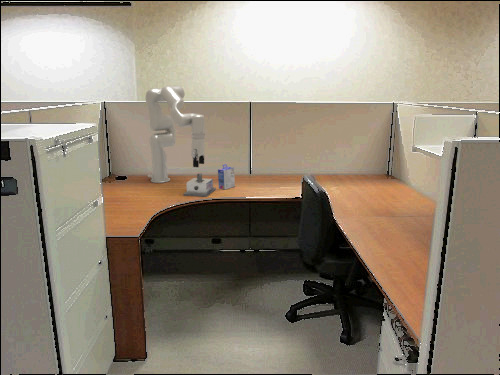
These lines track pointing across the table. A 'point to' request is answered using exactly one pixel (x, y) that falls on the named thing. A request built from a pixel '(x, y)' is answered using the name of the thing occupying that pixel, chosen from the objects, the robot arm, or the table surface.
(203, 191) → the block
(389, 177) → the table surface
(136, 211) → the table surface
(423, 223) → the table surface
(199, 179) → the steel pin
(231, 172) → the ink cartridge box
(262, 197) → the table surface
